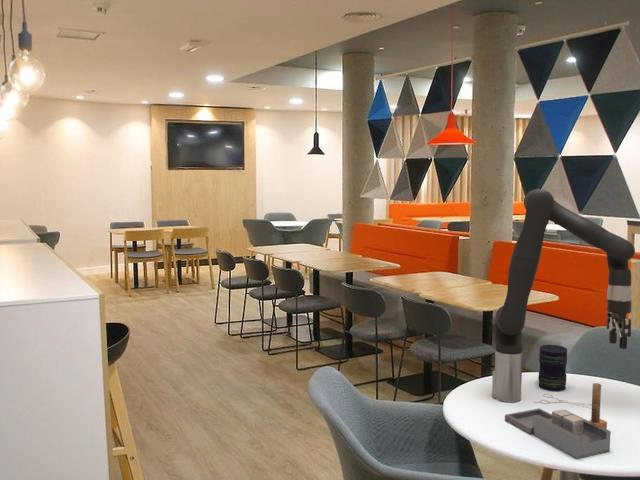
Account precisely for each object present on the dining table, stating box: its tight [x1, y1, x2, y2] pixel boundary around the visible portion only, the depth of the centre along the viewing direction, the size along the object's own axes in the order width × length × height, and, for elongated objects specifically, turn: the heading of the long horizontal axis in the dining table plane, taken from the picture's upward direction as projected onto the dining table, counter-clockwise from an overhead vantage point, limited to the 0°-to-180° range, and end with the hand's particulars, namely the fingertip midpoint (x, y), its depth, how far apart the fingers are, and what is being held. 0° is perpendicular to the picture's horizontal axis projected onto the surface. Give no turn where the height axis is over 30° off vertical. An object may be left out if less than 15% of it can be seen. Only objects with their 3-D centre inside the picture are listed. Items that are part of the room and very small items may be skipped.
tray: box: [504, 408, 552, 435], centre depth 201 cm, size 12×14×2 cm
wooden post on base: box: [588, 382, 608, 430], centre depth 195 cm, size 3×6×15 cm, turn 112°
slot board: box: [532, 409, 612, 460], centre depth 187 cm, size 18×12×6 cm
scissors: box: [533, 393, 592, 410], centre depth 219 cm, size 11×1×20 cm
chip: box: [563, 414, 585, 434], centre depth 186 cm, size 4×4×4 cm
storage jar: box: [537, 344, 568, 393], centre depth 234 cm, size 10×10×15 cm
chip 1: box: [551, 409, 572, 428], centre depth 190 cm, size 4×4×4 cm
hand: (617, 345), depth 213 cm, fingers open, 8 cm apart
